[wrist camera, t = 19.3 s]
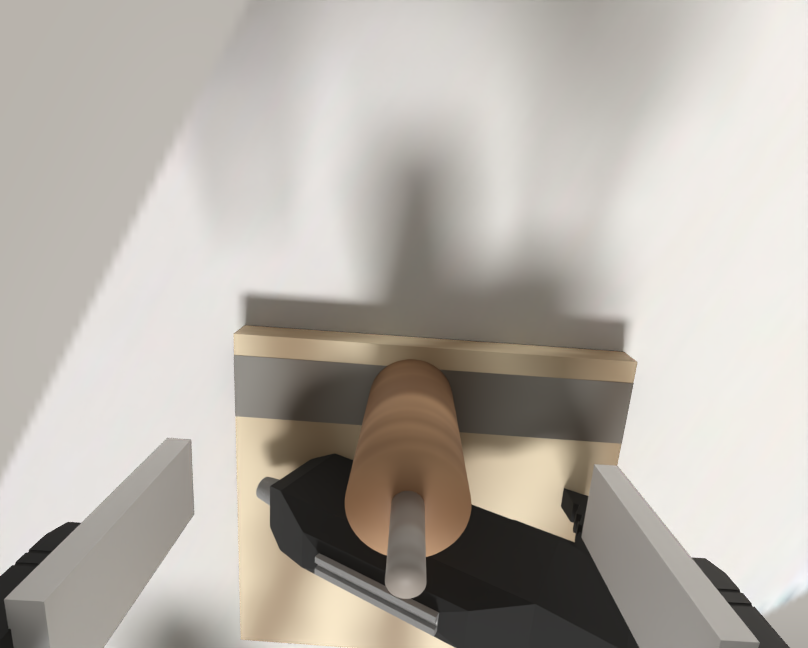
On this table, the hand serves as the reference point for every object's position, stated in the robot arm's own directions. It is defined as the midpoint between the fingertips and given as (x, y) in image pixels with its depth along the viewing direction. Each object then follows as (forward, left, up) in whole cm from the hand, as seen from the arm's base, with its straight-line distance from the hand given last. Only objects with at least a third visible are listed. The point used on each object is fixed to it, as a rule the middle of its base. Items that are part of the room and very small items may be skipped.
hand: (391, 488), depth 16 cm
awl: (+1, 0, -7) cm, 7 cm away
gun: (+2, -4, -7) cm, 8 cm away
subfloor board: (+1, -6, -8) cm, 10 cm away
